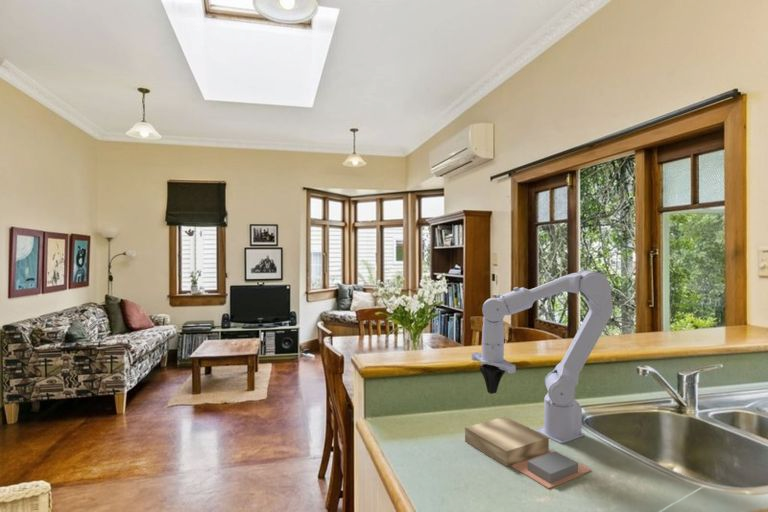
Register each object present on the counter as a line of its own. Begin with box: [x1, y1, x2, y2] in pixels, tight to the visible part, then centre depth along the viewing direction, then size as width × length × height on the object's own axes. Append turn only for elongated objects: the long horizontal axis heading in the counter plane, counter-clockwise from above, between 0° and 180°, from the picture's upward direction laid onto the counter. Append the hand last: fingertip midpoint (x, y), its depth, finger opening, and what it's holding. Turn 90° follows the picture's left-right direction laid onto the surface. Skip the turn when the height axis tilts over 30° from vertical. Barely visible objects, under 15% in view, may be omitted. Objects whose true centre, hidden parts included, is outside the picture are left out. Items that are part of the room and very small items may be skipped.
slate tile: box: [528, 450, 579, 484], centre depth 94 cm, size 9×6×2 cm, turn 120°
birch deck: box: [464, 416, 550, 467], centre depth 106 cm, size 14×14×4 cm
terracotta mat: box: [510, 450, 592, 490], centre depth 95 cm, size 14×10×1 cm
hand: (492, 392), depth 117 cm, fingers closed
